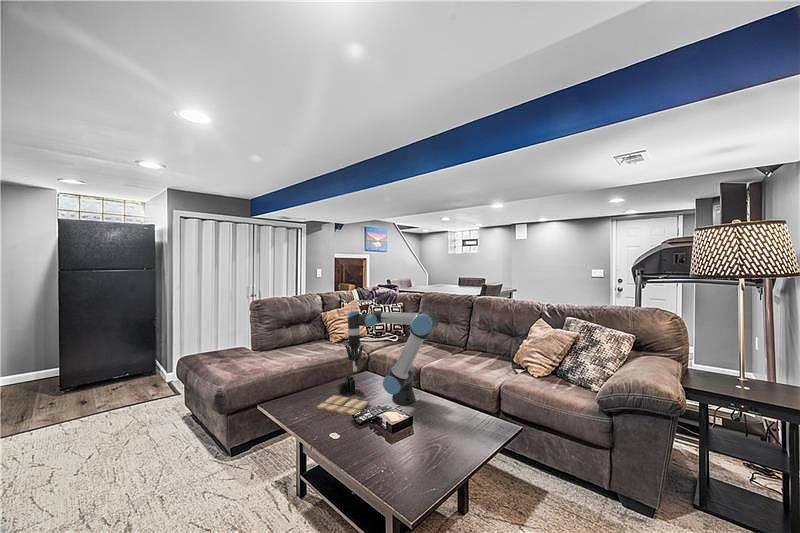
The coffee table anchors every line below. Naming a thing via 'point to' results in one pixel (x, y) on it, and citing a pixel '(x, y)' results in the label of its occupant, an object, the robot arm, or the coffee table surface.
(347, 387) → the camera
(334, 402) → the plank
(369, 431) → the coffee table surface
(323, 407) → the oak row
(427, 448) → the coffee table surface
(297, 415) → the coffee table surface
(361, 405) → the plank
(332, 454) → the coffee table surface
